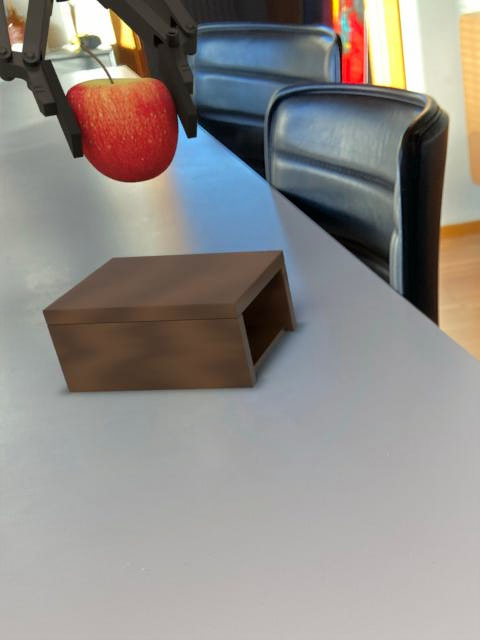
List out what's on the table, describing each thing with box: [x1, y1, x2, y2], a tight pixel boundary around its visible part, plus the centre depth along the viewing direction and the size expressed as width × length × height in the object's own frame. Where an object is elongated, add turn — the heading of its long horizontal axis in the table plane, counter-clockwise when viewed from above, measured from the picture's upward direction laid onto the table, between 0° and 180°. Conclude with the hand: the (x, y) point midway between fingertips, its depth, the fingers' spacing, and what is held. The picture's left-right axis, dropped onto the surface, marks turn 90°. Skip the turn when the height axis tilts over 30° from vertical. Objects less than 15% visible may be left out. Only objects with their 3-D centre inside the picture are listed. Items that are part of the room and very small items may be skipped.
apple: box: [65, 43, 180, 184], centre depth 81 cm, size 8×8×10 cm
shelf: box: [42, 249, 298, 393], centre depth 87 cm, size 16×14×7 cm
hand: (136, 136), depth 80 cm, fingers closed on apple, 8 cm apart
